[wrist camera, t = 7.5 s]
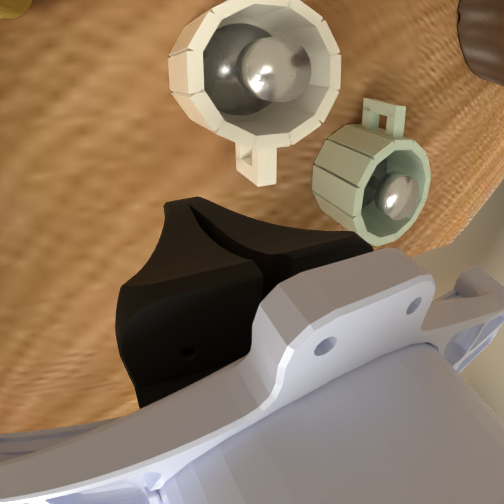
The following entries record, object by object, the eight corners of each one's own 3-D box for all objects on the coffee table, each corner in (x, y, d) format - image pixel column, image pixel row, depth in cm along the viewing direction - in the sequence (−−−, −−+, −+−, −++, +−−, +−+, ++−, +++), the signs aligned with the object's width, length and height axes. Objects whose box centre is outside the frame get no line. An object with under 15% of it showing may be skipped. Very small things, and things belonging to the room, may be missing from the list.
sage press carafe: (380, 208, 31) (418, 233, 27) (309, 225, 28) (346, 256, 24) (394, 99, 25) (440, 111, 21) (315, 94, 22) (363, 104, 18)
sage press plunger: (377, 201, 30) (420, 228, 25) (326, 212, 28) (368, 243, 23) (386, 139, 26) (434, 158, 22) (331, 141, 24) (381, 162, 20)
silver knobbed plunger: (189, 25, 16) (217, 7, 11) (281, 26, 18) (332, 18, 13) (193, 119, 19) (221, 134, 15) (281, 111, 21) (330, 125, 17)
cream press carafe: (166, 10, 15) (185, -12, 11) (293, 13, 18) (340, 3, 14) (177, 174, 21) (197, 203, 17) (292, 156, 24) (334, 179, 20)
